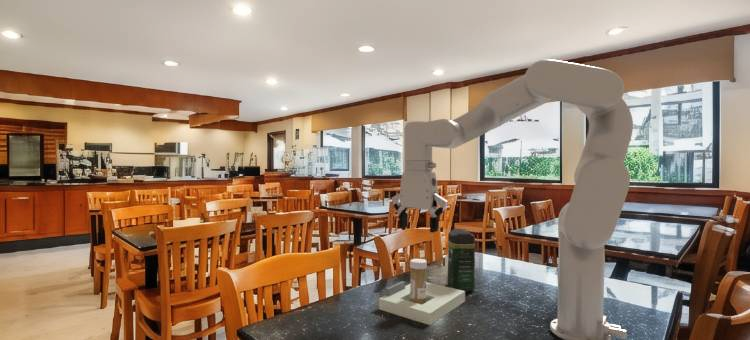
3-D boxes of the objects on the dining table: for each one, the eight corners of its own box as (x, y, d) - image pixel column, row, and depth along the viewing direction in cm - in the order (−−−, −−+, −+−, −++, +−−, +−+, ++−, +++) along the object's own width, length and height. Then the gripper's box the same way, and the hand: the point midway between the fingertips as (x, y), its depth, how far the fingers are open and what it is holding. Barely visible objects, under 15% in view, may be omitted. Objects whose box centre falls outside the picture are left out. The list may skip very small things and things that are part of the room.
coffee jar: (477, 293, 117) (478, 233, 116) (452, 293, 116) (452, 233, 116) (468, 282, 126) (469, 227, 126) (445, 282, 126) (445, 227, 125)
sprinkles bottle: (425, 312, 102) (426, 262, 101) (408, 311, 103) (409, 261, 102) (427, 306, 106) (427, 258, 106) (410, 304, 107) (410, 257, 107)
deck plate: (464, 301, 110) (465, 284, 110) (430, 325, 94) (430, 305, 94) (417, 289, 120) (417, 273, 119) (379, 309, 104) (379, 291, 104)
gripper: (453, 167, 101) (453, 231, 101) (399, 166, 111) (400, 224, 112) (439, 167, 95) (439, 235, 95) (384, 167, 106) (384, 228, 106)
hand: (418, 229), depth 104 cm, fingers open, 9 cm apart
